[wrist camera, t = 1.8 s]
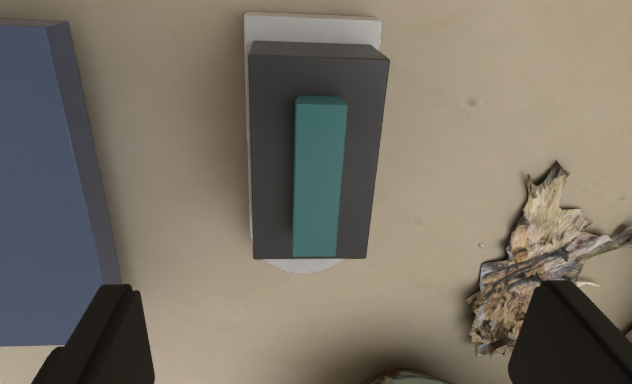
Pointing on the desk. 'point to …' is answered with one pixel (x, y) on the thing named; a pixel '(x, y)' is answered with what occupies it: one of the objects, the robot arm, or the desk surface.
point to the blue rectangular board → (47, 189)
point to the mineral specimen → (629, 336)
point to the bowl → (405, 378)
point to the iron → (312, 135)
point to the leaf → (534, 263)
